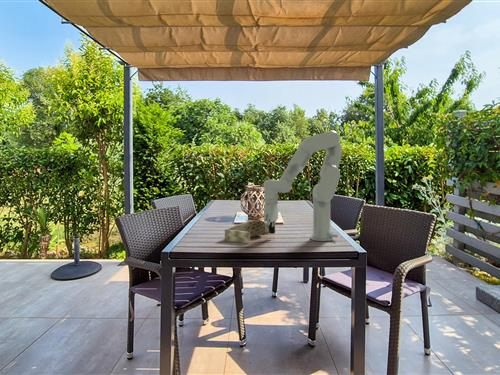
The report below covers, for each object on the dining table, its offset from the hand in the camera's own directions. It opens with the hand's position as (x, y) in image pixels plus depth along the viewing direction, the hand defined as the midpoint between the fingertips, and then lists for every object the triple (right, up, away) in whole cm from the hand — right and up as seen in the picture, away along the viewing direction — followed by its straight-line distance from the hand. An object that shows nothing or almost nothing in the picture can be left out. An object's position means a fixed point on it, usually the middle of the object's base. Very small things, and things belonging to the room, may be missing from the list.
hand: (271, 233), depth 185 cm
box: (-13, -3, +7) cm, 15 cm away
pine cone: (-13, -3, +5) cm, 14 cm away
